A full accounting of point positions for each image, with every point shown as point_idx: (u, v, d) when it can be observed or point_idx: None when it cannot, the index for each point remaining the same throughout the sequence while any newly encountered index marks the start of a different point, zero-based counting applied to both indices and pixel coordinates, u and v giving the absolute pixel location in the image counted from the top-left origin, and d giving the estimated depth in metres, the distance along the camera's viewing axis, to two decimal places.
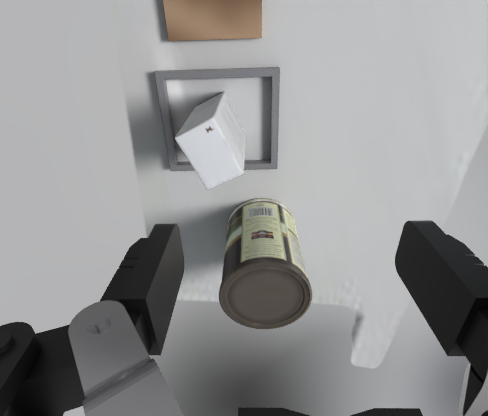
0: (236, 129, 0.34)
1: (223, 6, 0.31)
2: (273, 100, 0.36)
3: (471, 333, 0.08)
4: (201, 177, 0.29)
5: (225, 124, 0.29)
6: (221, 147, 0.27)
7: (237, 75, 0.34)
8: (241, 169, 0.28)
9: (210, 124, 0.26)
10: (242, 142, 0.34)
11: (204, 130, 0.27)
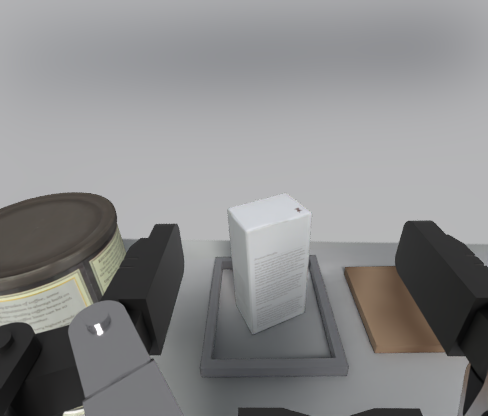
0: (274, 289, 0.27)
1: (392, 309, 0.30)
2: (304, 360, 0.25)
3: (471, 333, 0.08)
4: (243, 204, 0.26)
5: (294, 246, 0.26)
6: (278, 216, 0.24)
7: (327, 318, 0.29)
8: (251, 230, 0.23)
9: (303, 210, 0.25)
10: (259, 292, 0.26)
11: (296, 207, 0.25)
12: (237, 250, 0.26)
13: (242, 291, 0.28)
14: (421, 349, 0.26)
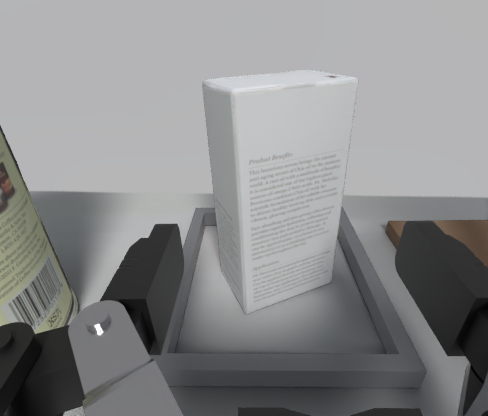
0: (284, 232, 0.15)
1: None
2: (340, 357, 0.14)
3: (471, 333, 0.08)
4: (230, 77, 0.15)
5: (322, 148, 0.14)
6: (296, 81, 0.13)
7: (373, 289, 0.17)
8: (243, 92, 0.11)
9: (341, 76, 0.13)
10: (257, 234, 0.15)
11: (328, 75, 0.14)
12: (219, 157, 0.14)
13: (229, 238, 0.16)
14: None
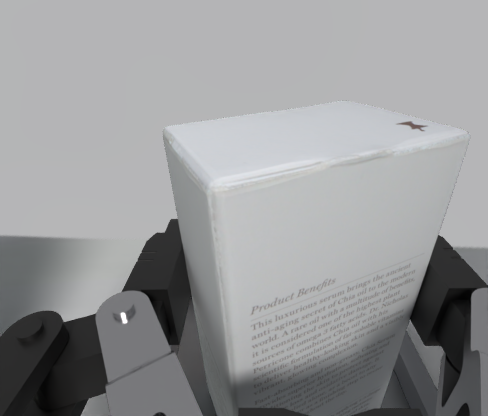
0: (312, 389, 0.09)
1: None
2: None
3: (445, 323, 0.08)
4: (216, 119, 0.08)
5: (390, 259, 0.07)
6: (350, 141, 0.06)
7: None
8: (237, 184, 0.05)
9: (433, 126, 0.07)
10: (265, 406, 0.08)
11: (401, 120, 0.07)
12: (195, 268, 0.08)
13: (216, 384, 0.10)
14: None
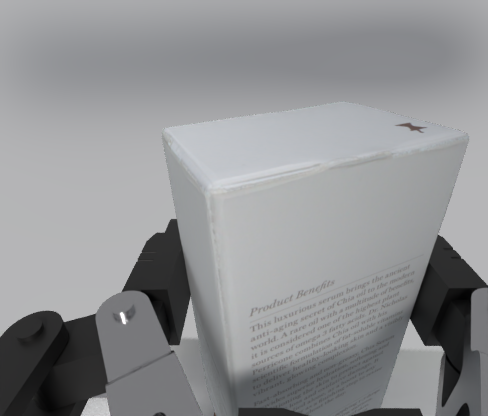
0: (312, 390, 0.09)
1: None
2: None
3: (445, 323, 0.08)
4: (215, 120, 0.08)
5: (389, 261, 0.07)
6: (348, 142, 0.06)
7: None
8: (236, 186, 0.05)
9: (432, 127, 0.07)
10: None
11: (400, 121, 0.07)
12: (194, 270, 0.08)
13: (216, 385, 0.10)
14: None
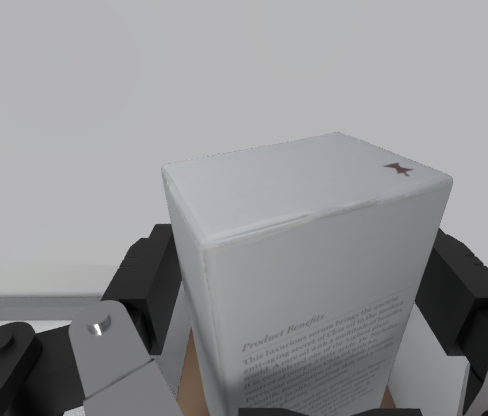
0: (304, 413, 0.09)
1: None
2: None
3: (471, 333, 0.08)
4: (212, 156, 0.08)
5: (377, 294, 0.08)
6: (336, 188, 0.06)
7: None
8: (227, 240, 0.05)
9: (417, 170, 0.07)
10: None
11: (388, 161, 0.08)
12: (191, 299, 0.08)
13: (213, 405, 0.10)
14: None
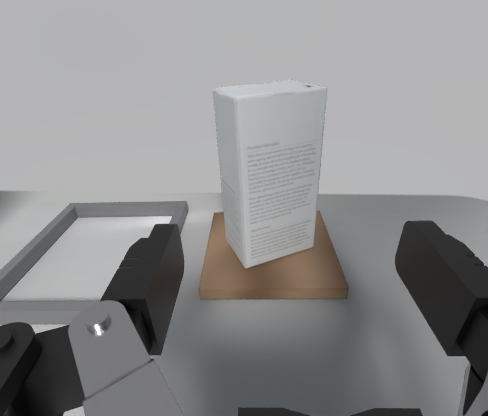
0: (274, 203, 0.20)
1: None
2: None
3: (471, 333, 0.08)
4: (234, 86, 0.20)
5: (301, 139, 0.19)
6: (281, 89, 0.18)
7: None
8: (243, 98, 0.16)
9: (315, 86, 0.18)
10: (253, 203, 0.20)
11: (306, 85, 0.19)
12: (225, 145, 0.19)
13: (232, 209, 0.21)
14: (256, 294, 0.21)
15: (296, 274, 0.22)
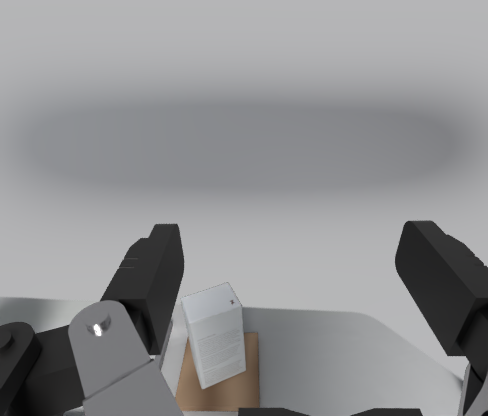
0: (216, 357, 0.35)
1: None
2: None
3: (471, 333, 0.08)
4: (193, 294, 0.35)
5: (229, 328, 0.34)
6: (216, 309, 0.33)
7: None
8: (193, 322, 0.31)
9: (235, 302, 0.33)
10: (204, 361, 0.35)
11: (231, 299, 0.34)
12: (187, 329, 0.35)
13: (193, 357, 0.36)
14: (207, 409, 0.36)
15: (231, 394, 0.37)
